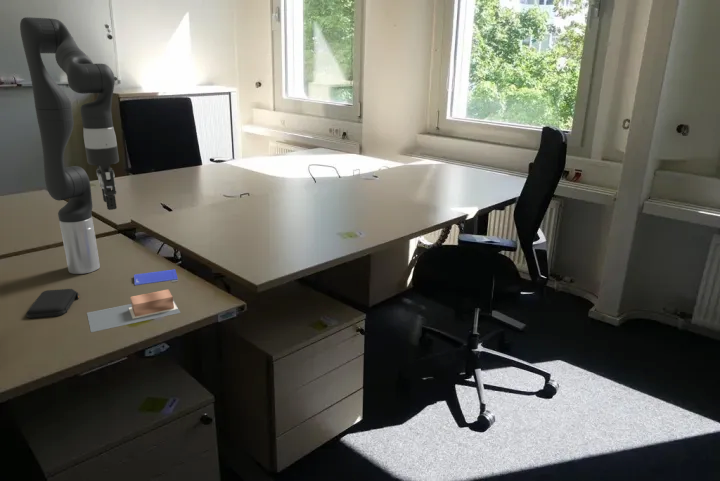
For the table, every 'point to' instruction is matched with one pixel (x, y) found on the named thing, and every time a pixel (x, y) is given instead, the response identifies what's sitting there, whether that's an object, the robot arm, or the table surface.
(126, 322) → the mat
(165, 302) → the block
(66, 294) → the carrying case or bag
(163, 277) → the hard drive
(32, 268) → the table surface
